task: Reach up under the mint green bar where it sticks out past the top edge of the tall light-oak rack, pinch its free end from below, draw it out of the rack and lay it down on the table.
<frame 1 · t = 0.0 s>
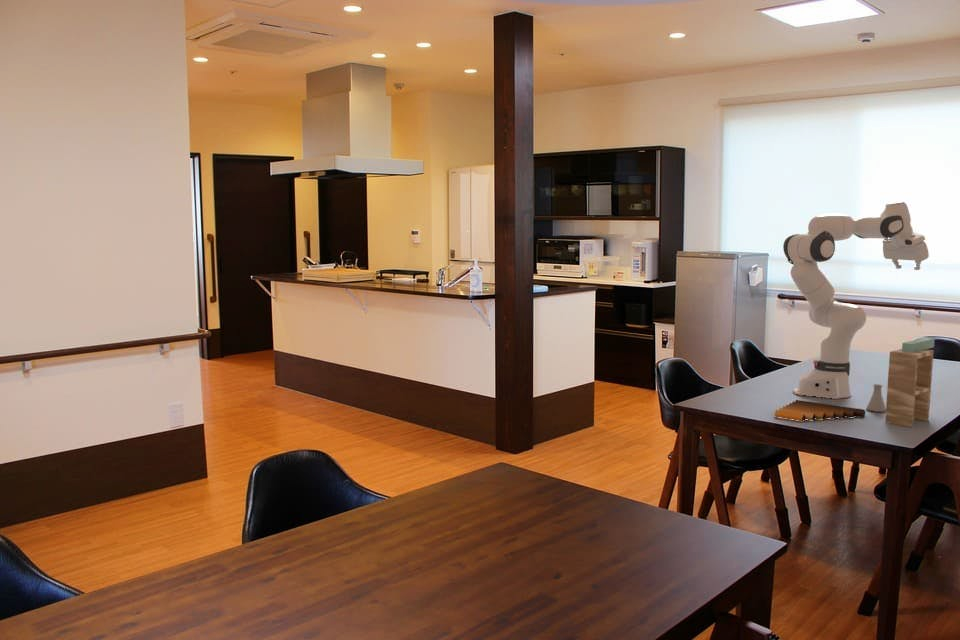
hand: (908, 268, 339), 52 cm above the table, tool tilted 20°, fingers open, 8 cm apart
mint green bar: (918, 349, 289), point 26 cm above the table, touching rack
pan flute: (819, 419, 296), on the table
rack: (907, 421, 289), on the table
flask: (876, 410, 306), on the table
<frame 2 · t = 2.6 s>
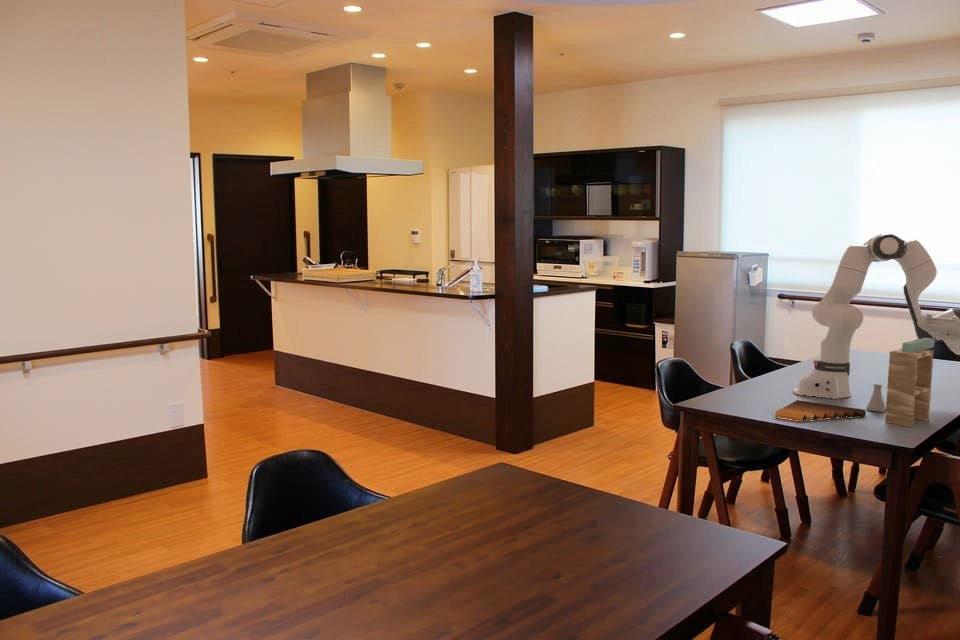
hand: (941, 317, 300), 36 cm above the table, tool pointing upward, fingers open, 8 cm apart
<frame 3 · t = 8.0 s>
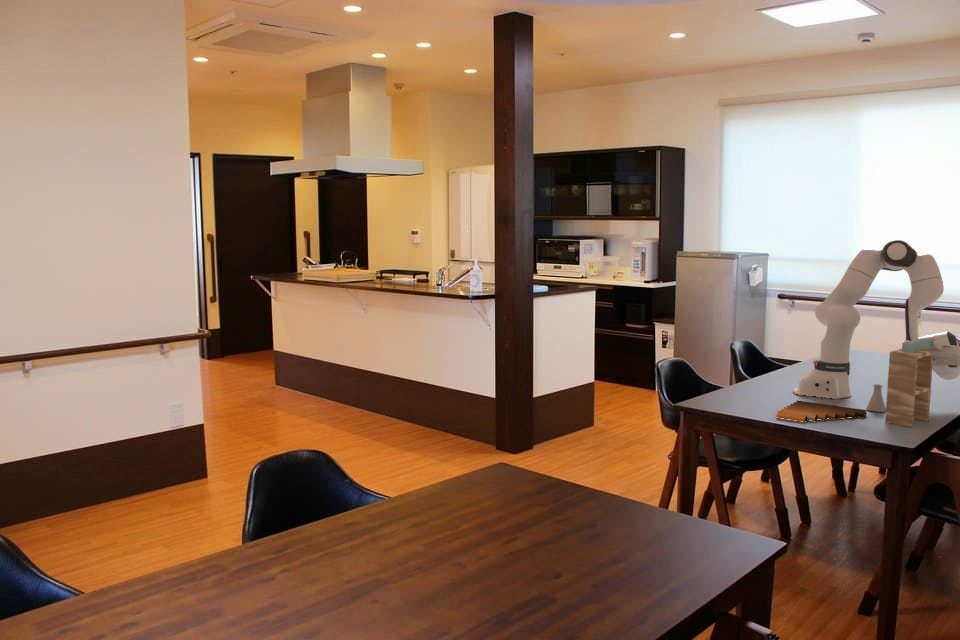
hand: (926, 341, 293), 28 cm above the table, tool pointing upward, fingers closed on mint green bar, 3 cm apart
mint green bar: (918, 349, 289), point 26 cm above the table, touching gripper, rack
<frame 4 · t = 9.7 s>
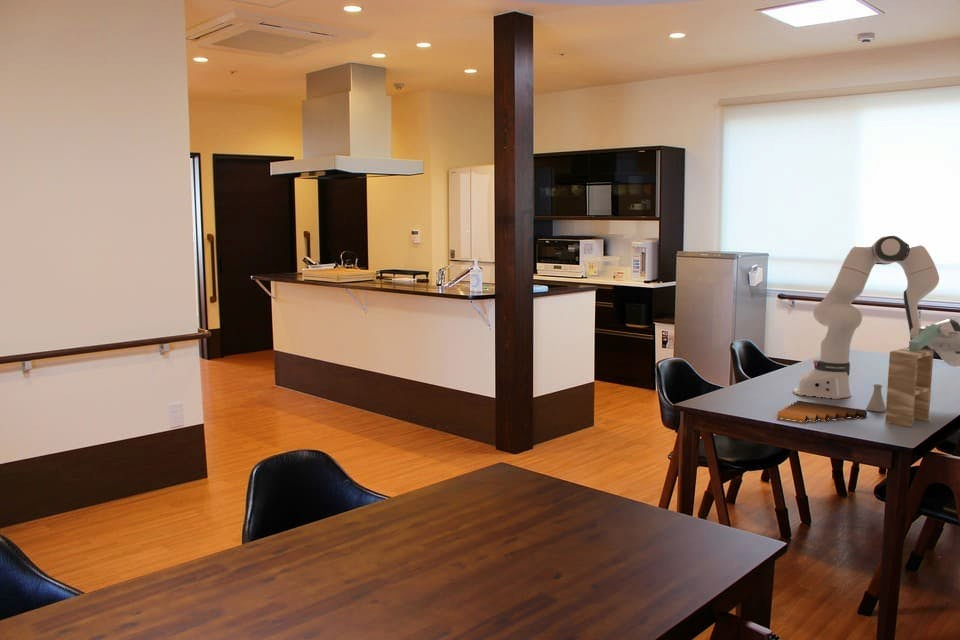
hand: (933, 328, 296), 33 cm above the table, tool pointing upward, fingers closed on mint green bar, 3 cm apart
mint green bar: (925, 341, 293), point 28 cm above the table, tilted 14°, touching gripper
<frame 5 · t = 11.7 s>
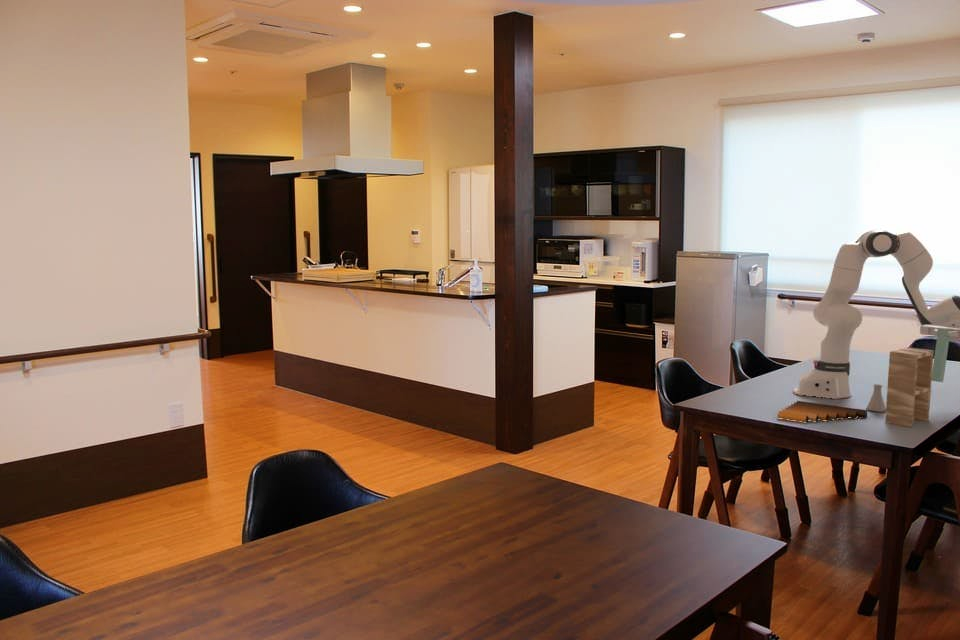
hand: (942, 333, 302), 30 cm above the table, tool horizontal, fingers closed on mint green bar, 3 cm apart
mint green bar: (942, 355, 304), point 21 cm above the table, tilted 80°, touching gripper
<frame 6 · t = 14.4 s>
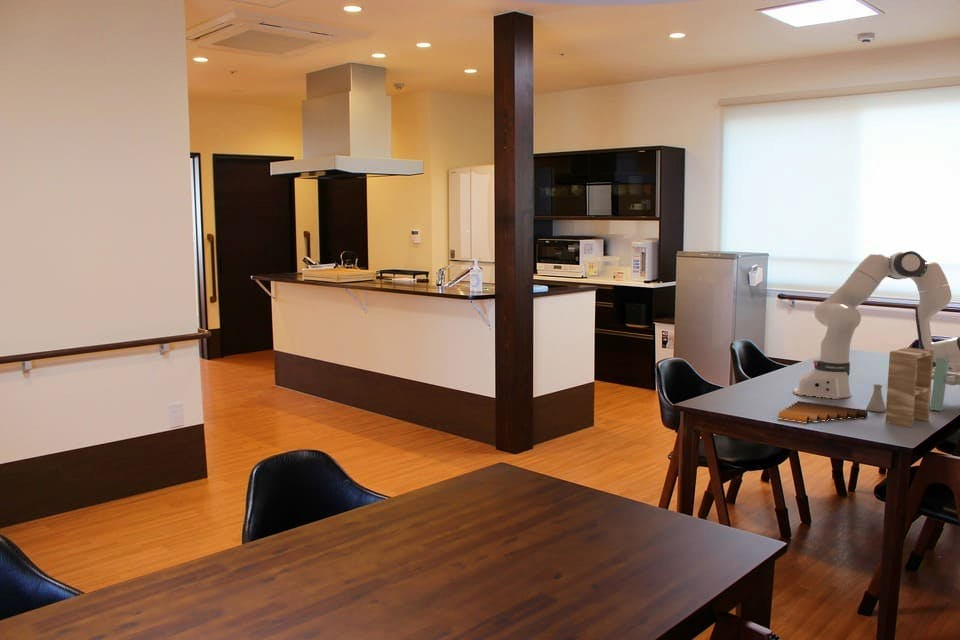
hand: (939, 378, 304), 13 cm above the table, tool horizontal, fingers closed on mint green bar, 3 cm apart
mint green bar: (941, 384, 306), point 10 cm above the table, tilted 81°, touching gripper
when the fingers open (12 cm above the table, at t = 14.9 s): mint green bar stays where it is, point 10 cm above the table.
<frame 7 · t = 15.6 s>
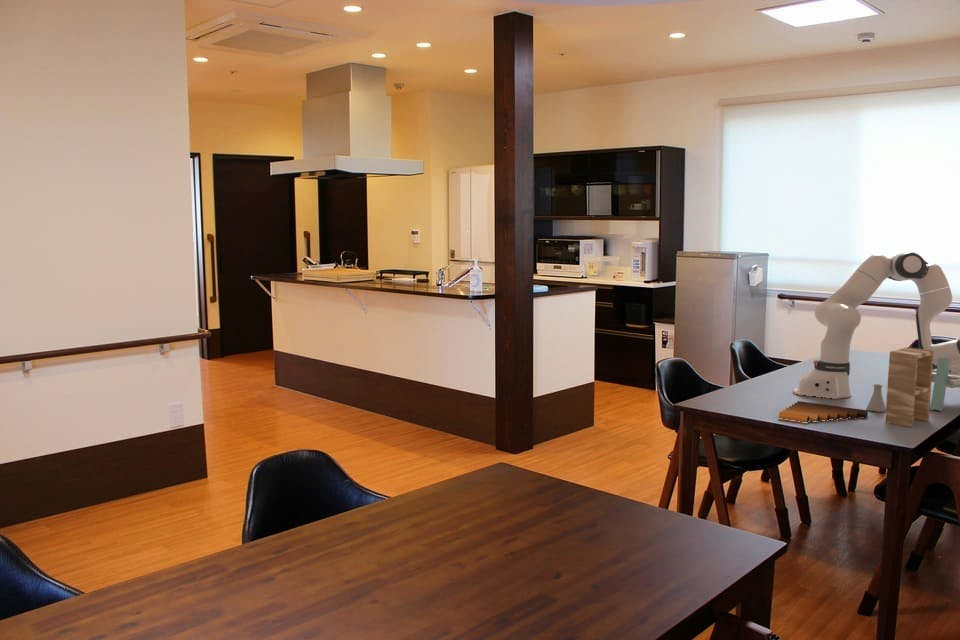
hand: (938, 380, 304), 12 cm above the table, tool horizontal, fingers open, 8 cm apart
mint green bar: (941, 384, 306), point 10 cm above the table, tilted 78°
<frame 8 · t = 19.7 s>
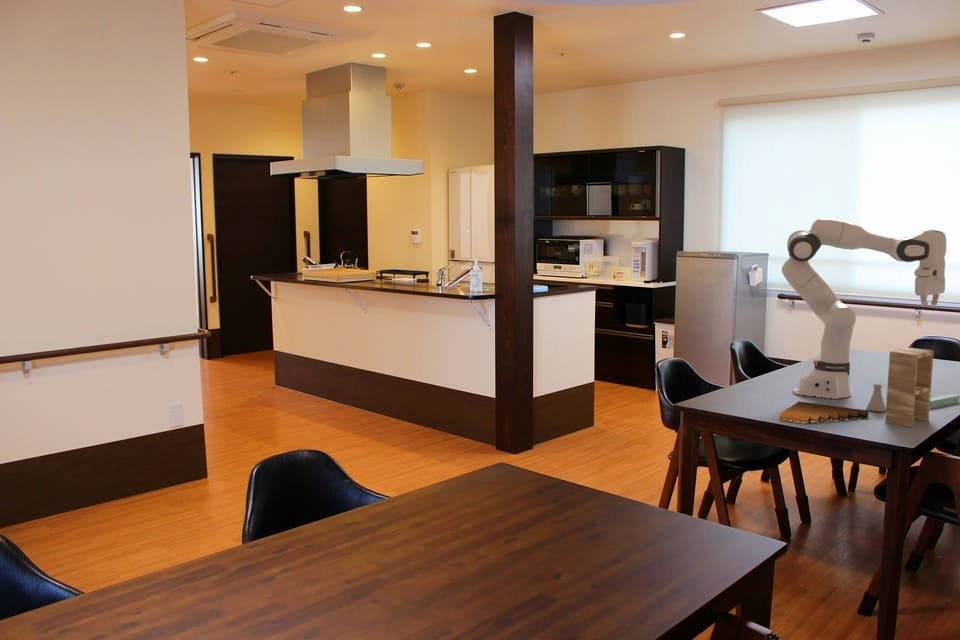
hand: (929, 305, 314), 39 cm above the table, tool pointing down, fingers open, 8 cm apart
mint green bar: (941, 405, 315), on the table
at the end: mint green bar on the table; mint green bar moved 41.7 cm from its start; the gripper is holding nothing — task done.
